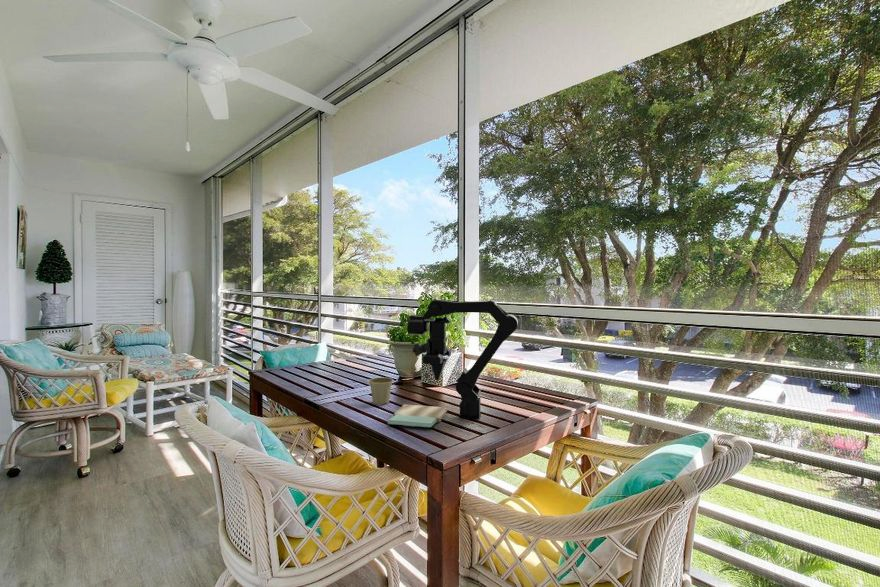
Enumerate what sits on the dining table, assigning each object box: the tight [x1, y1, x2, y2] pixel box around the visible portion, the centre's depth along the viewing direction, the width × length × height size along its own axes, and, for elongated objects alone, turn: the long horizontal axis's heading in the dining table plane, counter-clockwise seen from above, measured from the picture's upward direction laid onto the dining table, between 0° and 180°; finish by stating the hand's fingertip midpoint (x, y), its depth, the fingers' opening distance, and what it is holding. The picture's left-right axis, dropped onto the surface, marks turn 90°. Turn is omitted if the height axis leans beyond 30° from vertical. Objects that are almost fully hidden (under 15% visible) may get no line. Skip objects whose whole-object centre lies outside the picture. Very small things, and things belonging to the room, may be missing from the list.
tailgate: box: [387, 415, 438, 428], centre depth 136 cm, size 14×2×8 cm
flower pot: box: [368, 377, 394, 405], centre depth 161 cm, size 9×9×9 cm
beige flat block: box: [392, 403, 448, 423], centre depth 146 cm, size 16×12×2 cm
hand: (437, 379), depth 148 cm, fingers closed
